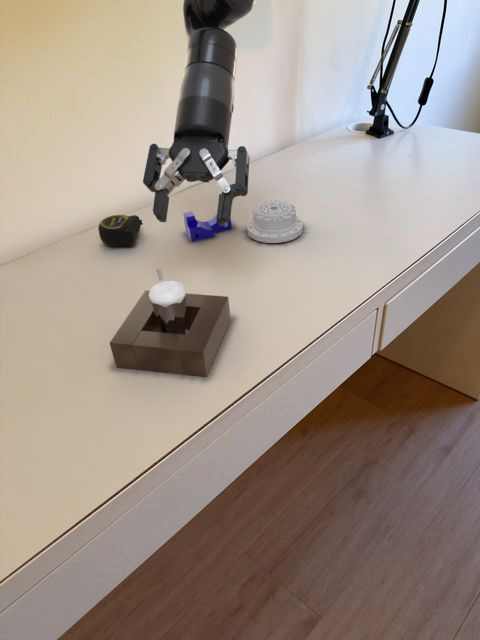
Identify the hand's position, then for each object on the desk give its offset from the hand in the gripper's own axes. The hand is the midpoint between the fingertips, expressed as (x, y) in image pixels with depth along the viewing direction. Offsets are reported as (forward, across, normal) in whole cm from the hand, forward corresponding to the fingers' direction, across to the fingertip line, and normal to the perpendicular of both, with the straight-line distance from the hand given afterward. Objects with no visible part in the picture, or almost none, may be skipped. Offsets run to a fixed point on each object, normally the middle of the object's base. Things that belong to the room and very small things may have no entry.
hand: (190, 222), depth 71 cm
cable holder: (-6, -4, +23) cm, 24 cm away
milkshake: (+17, 0, +1) cm, 17 cm away
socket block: (+16, 0, 0) cm, 17 cm away
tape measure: (-2, -19, +20) cm, 27 cm away
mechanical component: (-7, +7, +24) cm, 26 cm away
